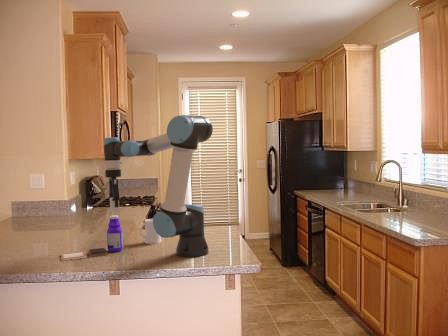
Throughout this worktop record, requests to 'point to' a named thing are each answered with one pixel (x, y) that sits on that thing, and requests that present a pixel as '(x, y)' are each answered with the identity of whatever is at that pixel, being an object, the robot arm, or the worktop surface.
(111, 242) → the bottle
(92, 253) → the ink pad
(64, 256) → the print board
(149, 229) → the mug
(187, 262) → the worktop surface
